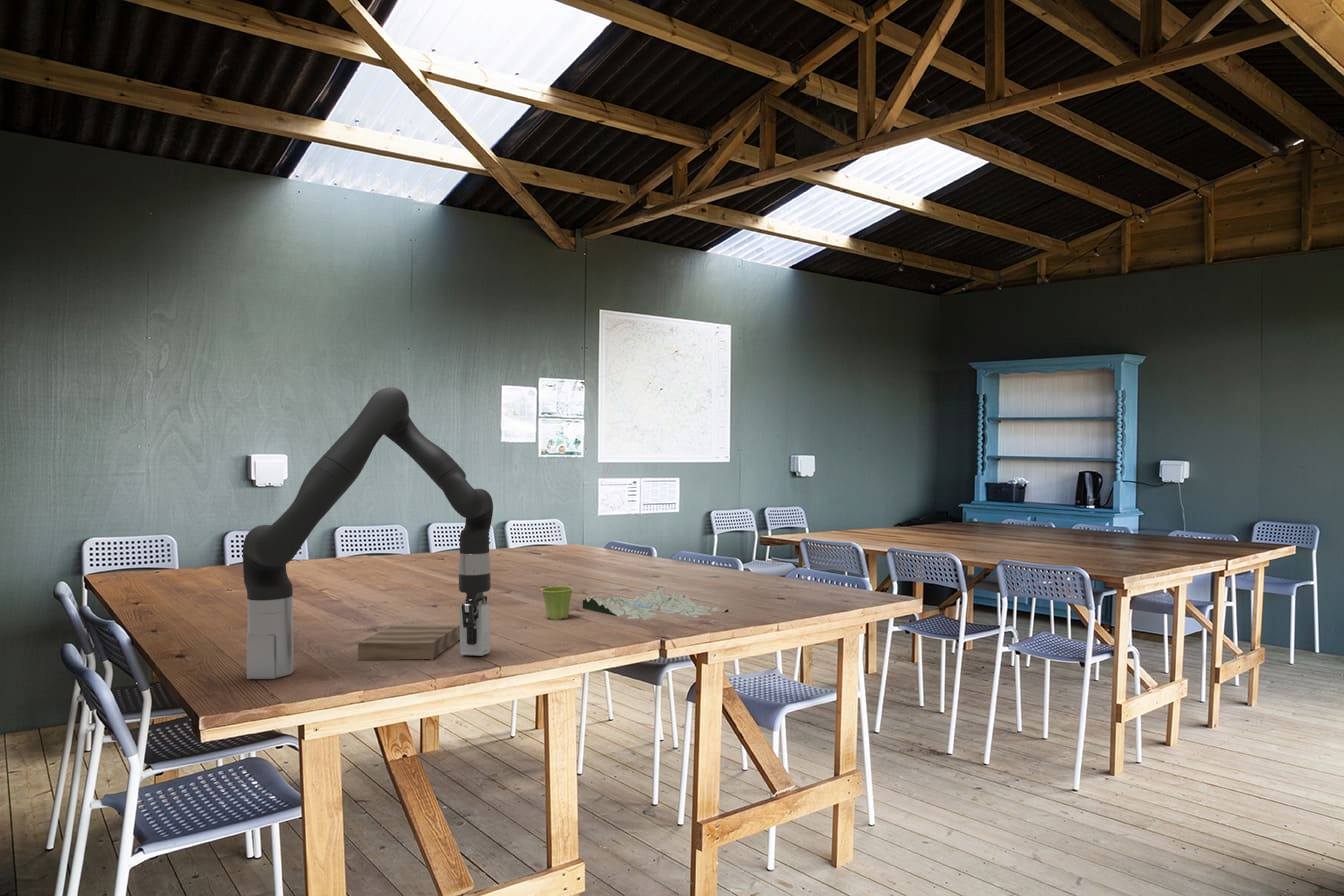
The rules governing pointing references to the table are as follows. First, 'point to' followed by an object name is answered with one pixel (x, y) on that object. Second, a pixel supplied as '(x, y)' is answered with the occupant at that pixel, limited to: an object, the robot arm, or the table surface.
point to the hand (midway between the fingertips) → (474, 641)
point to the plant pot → (557, 601)
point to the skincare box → (482, 633)
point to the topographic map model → (647, 605)
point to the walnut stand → (409, 642)
